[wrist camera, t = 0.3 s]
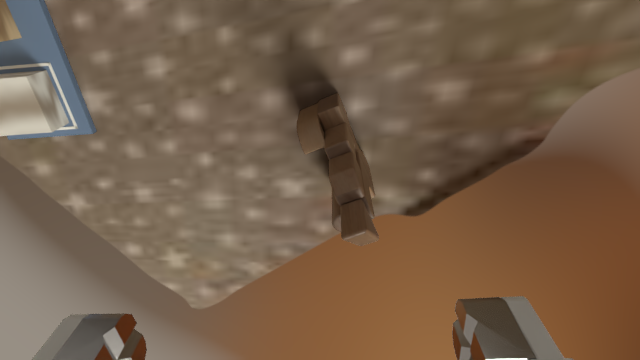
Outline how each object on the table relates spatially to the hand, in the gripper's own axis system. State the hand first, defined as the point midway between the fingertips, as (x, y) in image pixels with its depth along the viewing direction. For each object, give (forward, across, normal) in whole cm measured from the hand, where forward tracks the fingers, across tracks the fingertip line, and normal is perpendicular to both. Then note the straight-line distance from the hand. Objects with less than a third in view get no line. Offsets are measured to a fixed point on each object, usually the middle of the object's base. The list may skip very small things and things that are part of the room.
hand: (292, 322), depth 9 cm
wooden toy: (+47, -1, +16) cm, 50 cm away
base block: (+46, +44, +4) cm, 64 cm away
